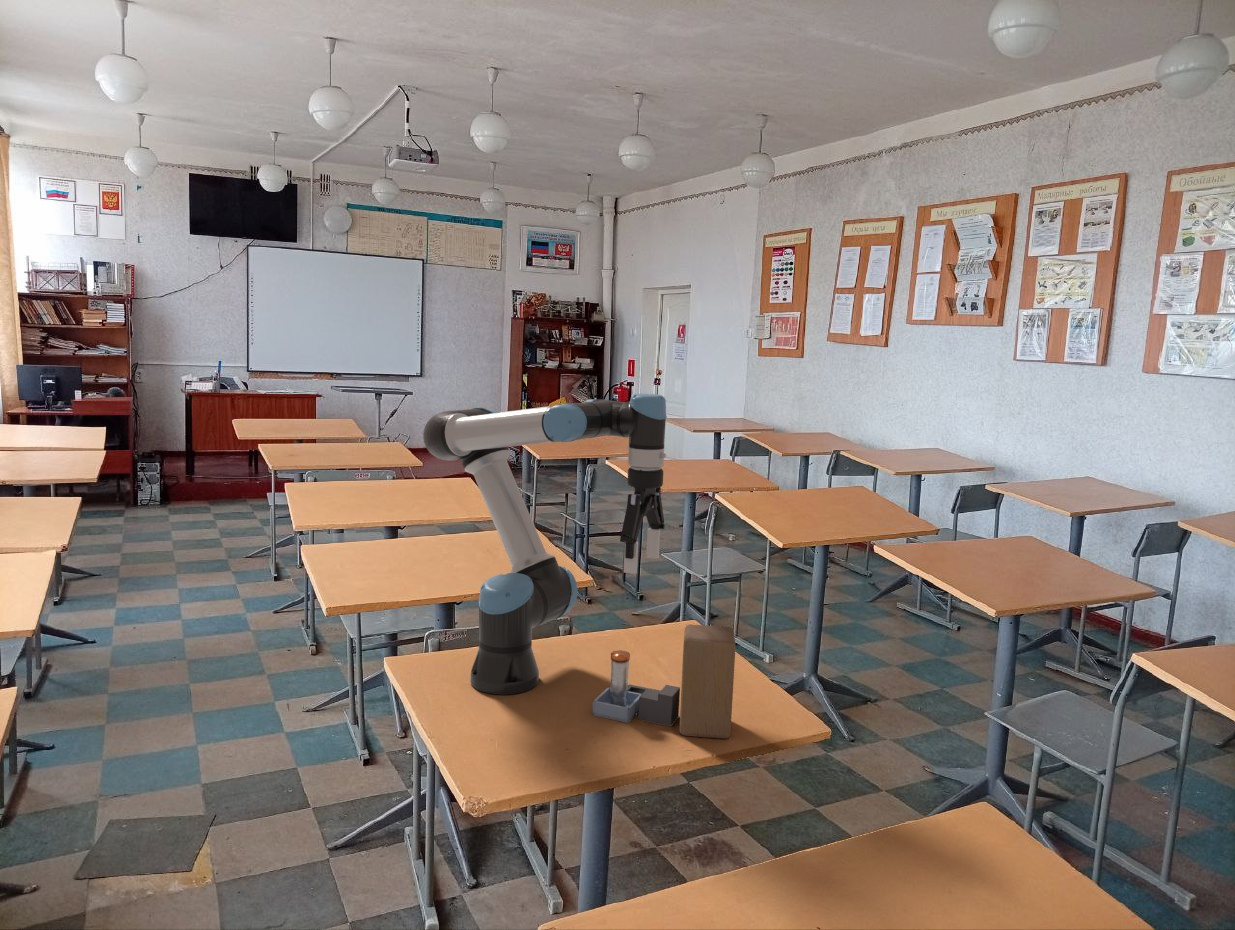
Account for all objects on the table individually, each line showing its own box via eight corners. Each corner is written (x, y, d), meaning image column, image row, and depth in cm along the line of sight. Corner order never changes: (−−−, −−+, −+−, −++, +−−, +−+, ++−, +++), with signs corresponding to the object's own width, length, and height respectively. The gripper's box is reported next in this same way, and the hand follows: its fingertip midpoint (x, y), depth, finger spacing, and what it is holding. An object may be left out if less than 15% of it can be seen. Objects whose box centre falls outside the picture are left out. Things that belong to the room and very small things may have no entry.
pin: (623, 714, 178) (626, 658, 176) (605, 710, 179) (607, 655, 177) (630, 707, 182) (632, 652, 180) (613, 703, 183) (615, 649, 181)
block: (728, 718, 179) (734, 625, 176) (730, 741, 169) (736, 643, 166) (680, 714, 180) (685, 622, 177) (679, 736, 170) (683, 639, 167)
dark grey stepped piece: (638, 720, 177) (639, 689, 176) (646, 710, 182) (648, 681, 181) (670, 726, 175) (672, 696, 174) (678, 717, 179) (680, 687, 178)
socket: (617, 702, 185) (617, 695, 185) (628, 690, 191) (628, 684, 191) (646, 708, 183) (646, 701, 183) (656, 696, 189) (657, 689, 189)
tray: (592, 715, 178) (592, 701, 178) (607, 700, 186) (607, 687, 185) (628, 722, 176) (629, 708, 175) (642, 707, 183) (643, 694, 182)
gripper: (641, 477, 170) (637, 582, 173) (681, 461, 193) (676, 554, 196) (606, 474, 173) (602, 577, 176) (649, 458, 196) (645, 550, 199)
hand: (641, 565), depth 186 cm, fingers open, 13 cm apart
